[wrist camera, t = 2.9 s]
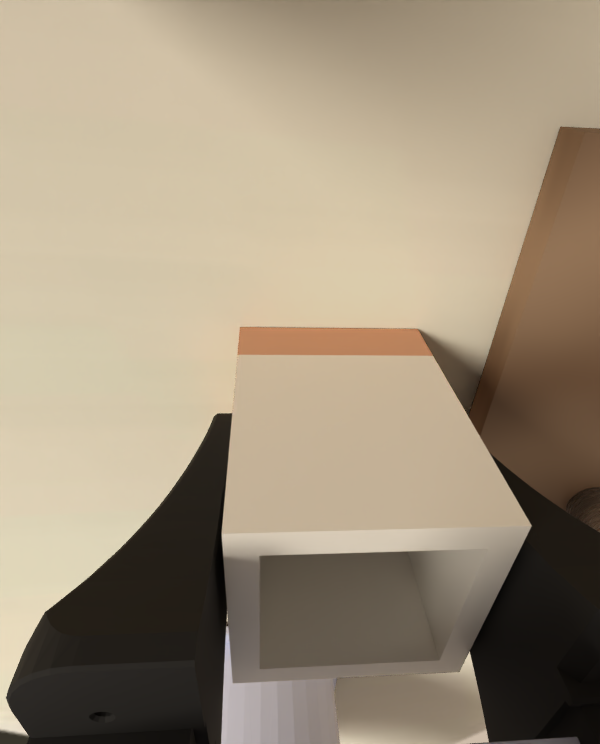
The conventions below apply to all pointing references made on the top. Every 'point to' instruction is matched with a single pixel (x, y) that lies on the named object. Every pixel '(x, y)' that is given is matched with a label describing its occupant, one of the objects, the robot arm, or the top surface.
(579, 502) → the steel pin
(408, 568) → the sleeve
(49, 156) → the top surface
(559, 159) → the board
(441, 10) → the top surface
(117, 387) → the top surface
